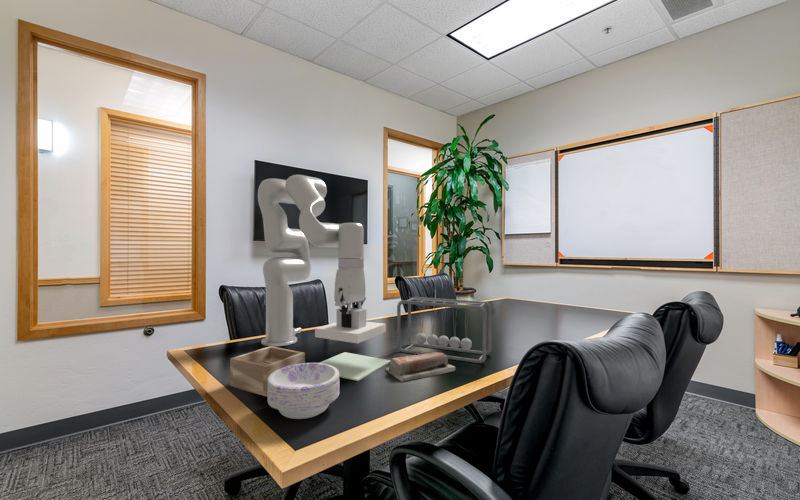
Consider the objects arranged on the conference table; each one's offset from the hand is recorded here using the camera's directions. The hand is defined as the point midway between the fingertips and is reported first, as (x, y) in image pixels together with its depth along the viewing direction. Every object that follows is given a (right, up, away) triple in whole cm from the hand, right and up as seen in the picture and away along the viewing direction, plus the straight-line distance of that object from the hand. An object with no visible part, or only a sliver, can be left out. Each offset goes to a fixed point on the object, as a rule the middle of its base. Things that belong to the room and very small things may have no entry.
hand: (351, 325), depth 106 cm
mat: (0, -12, 0) cm, 12 cm away
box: (-20, -12, -13) cm, 27 cm away
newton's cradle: (+29, -13, +13) cm, 34 cm away
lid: (0, -3, 0) cm, 3 cm away
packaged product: (+20, -13, -4) cm, 25 cm away
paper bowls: (-6, -13, -28) cm, 32 cm away
